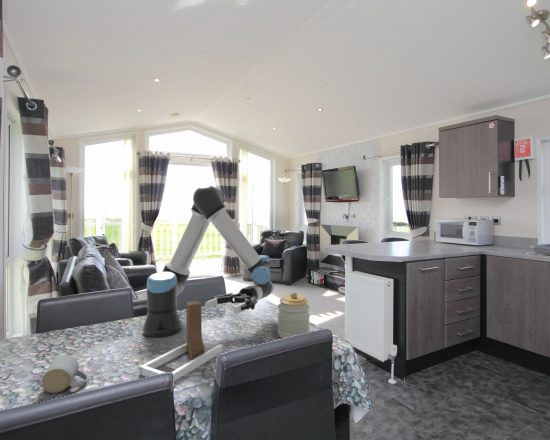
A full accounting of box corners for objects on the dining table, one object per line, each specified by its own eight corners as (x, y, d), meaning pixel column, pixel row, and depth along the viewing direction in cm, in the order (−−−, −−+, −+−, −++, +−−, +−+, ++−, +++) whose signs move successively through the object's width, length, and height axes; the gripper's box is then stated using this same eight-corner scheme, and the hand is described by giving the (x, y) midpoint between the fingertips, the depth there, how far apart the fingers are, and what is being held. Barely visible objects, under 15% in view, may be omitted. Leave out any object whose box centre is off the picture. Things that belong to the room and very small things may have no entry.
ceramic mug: (39, 397, 89) (39, 369, 88) (49, 381, 96) (49, 356, 96) (84, 391, 92) (84, 364, 92) (90, 376, 100) (90, 352, 99)
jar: (300, 344, 123) (300, 298, 122) (271, 337, 130) (271, 293, 129) (315, 333, 134) (315, 290, 133) (287, 327, 141) (287, 286, 140)
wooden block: (204, 360, 111) (204, 307, 110) (191, 362, 109) (190, 309, 108) (199, 349, 119) (198, 300, 118) (186, 351, 117) (186, 301, 116)
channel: (139, 374, 101) (139, 366, 101) (195, 344, 123) (195, 338, 123) (168, 385, 95) (168, 376, 95) (222, 351, 117) (222, 344, 117)
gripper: (275, 307, 137) (248, 323, 118) (227, 299, 149) (195, 313, 130) (275, 289, 137) (247, 302, 118) (226, 283, 148) (194, 294, 130)
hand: (220, 308), depth 124 cm, fingers open, 13 cm apart
